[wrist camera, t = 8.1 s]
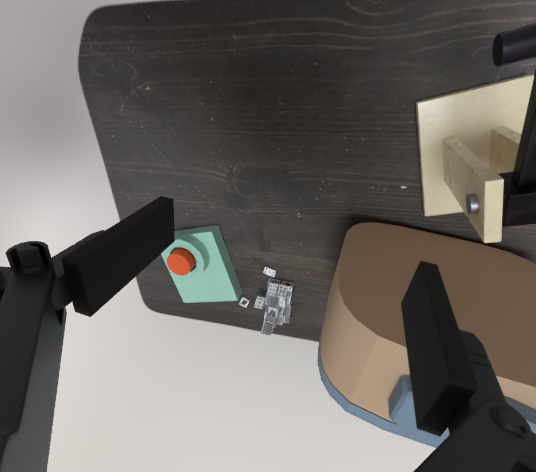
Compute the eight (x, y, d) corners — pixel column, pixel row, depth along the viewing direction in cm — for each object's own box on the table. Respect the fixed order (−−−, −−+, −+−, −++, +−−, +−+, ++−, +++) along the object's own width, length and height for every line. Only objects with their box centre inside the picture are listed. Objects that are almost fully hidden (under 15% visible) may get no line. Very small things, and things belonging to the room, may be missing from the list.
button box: (161, 231, 48) (145, 243, 45) (217, 222, 44) (204, 236, 41) (190, 294, 53) (178, 310, 50) (242, 291, 49) (233, 308, 46)
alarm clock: (332, 272, 43) (303, 424, 25) (348, 210, 38) (328, 344, 20) (493, 314, 39) (600, 530, 21) (535, 251, 34) (720, 462, 16)
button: (169, 248, 44) (162, 255, 43) (190, 246, 43) (183, 252, 42) (178, 269, 46) (172, 276, 44) (199, 267, 45) (193, 274, 43)
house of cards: (239, 260, 47) (218, 292, 40) (296, 273, 45) (284, 308, 38) (239, 306, 51) (220, 341, 45) (290, 318, 49) (278, 357, 43)
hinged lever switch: (415, 101, 31) (445, 127, 18) (526, 74, 28) (655, 82, 15) (423, 211, 36) (451, 290, 23) (518, 199, 32) (611, 283, 20)
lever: (491, 27, 15) (507, 42, 14) (627, -14, 14) (665, -2, 12) (470, 206, 23) (478, 229, 22) (554, 196, 21) (570, 220, 20)
